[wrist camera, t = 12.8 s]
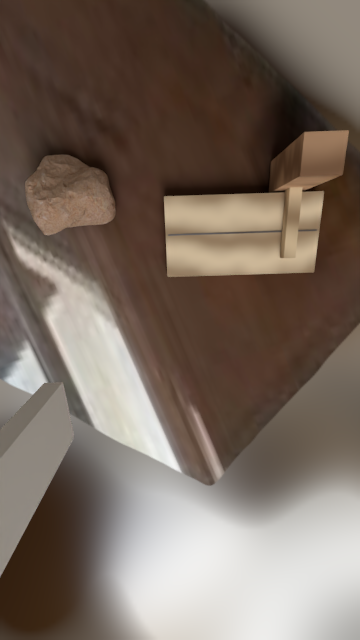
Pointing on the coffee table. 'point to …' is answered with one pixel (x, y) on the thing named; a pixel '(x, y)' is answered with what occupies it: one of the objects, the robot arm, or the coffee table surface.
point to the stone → (68, 194)
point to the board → (237, 234)
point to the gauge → (304, 176)
